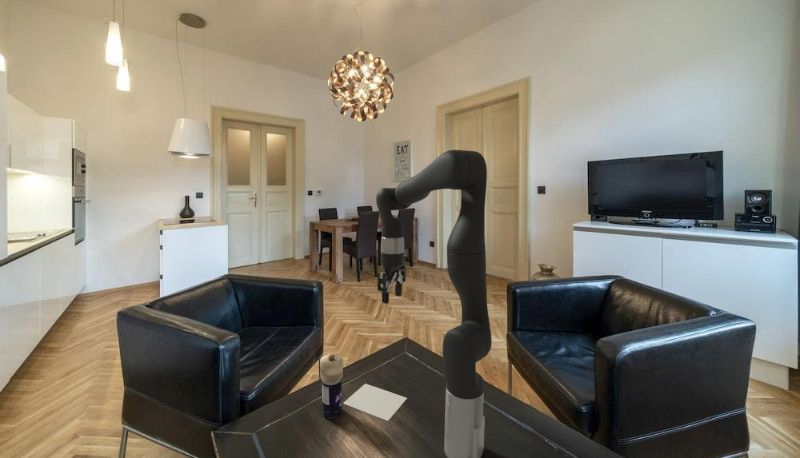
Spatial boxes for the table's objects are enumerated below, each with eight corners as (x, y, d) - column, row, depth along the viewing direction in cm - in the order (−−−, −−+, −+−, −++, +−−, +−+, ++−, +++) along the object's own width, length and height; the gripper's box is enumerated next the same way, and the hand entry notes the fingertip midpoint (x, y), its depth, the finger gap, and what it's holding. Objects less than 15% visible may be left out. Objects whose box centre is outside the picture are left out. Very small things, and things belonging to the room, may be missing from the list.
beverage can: (337, 422, 95) (337, 382, 94) (319, 419, 96) (318, 380, 95) (345, 409, 101) (344, 371, 99) (327, 406, 102) (326, 369, 100)
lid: (347, 373, 98) (347, 354, 98) (333, 384, 93) (333, 364, 92) (330, 367, 101) (330, 348, 101) (315, 378, 96) (315, 358, 95)
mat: (407, 399, 106) (407, 398, 106) (387, 422, 95) (387, 420, 95) (365, 384, 113) (365, 383, 113) (343, 404, 103) (343, 403, 103)
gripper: (391, 255, 99) (391, 308, 101) (412, 248, 112) (412, 295, 114) (370, 253, 103) (370, 303, 105) (393, 246, 115) (393, 291, 117)
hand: (392, 299), depth 109 cm, fingers open, 8 cm apart
